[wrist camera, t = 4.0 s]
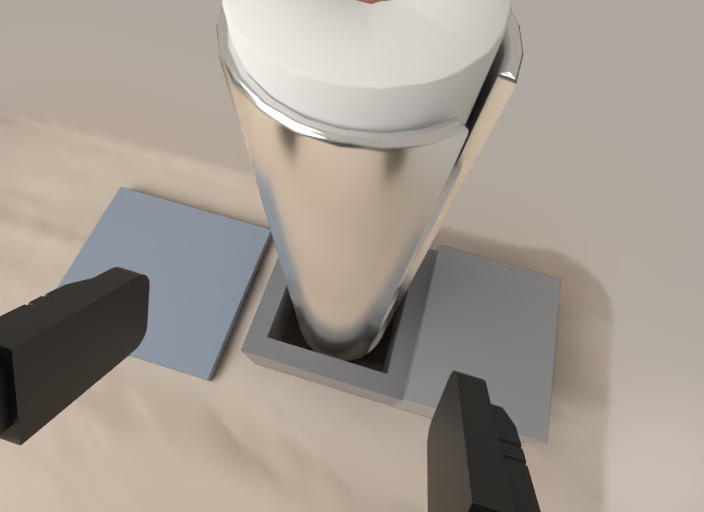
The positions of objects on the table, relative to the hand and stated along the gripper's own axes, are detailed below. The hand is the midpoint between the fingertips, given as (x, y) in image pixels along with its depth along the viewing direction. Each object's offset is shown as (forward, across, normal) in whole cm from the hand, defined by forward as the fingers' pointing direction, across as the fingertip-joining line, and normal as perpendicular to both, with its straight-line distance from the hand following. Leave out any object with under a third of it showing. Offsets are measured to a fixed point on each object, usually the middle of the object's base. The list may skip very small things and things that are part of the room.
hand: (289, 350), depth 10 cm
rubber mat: (+17, +14, +10) cm, 24 cm away
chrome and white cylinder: (+18, 0, +9) cm, 20 cm away
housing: (+18, -4, +9) cm, 21 cm away
